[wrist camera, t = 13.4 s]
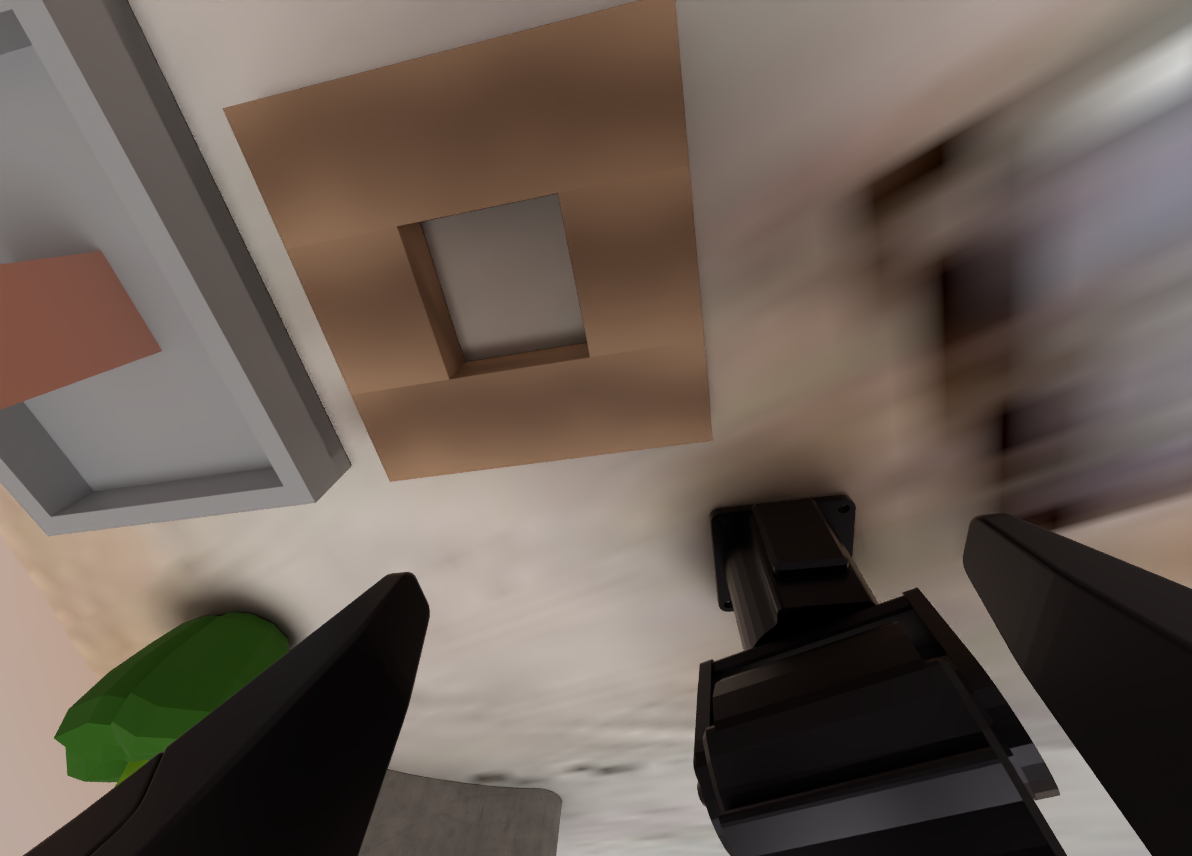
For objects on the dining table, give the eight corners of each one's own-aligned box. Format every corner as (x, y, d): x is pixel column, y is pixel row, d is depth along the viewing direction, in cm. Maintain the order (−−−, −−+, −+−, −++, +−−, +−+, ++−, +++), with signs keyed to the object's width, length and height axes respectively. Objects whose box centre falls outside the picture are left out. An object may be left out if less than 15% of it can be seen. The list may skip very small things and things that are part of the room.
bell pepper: (178, 571, 27) (-38, 757, 19) (321, 614, 28) (181, 812, 19) (182, 659, 31) (4, 849, 22) (308, 695, 32) (185, 891, 23)
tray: (351, 466, 23) (315, 502, 21) (109, 498, 25) (47, 536, 22) (122, -9, 15) (15, -49, 13) (-206, 92, 17) (-358, 76, 15)
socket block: (705, 418, 21) (712, 440, 19) (408, 458, 23) (389, 481, 21) (668, 14, 15) (674, -9, 13) (266, 116, 17) (222, 108, 15)
